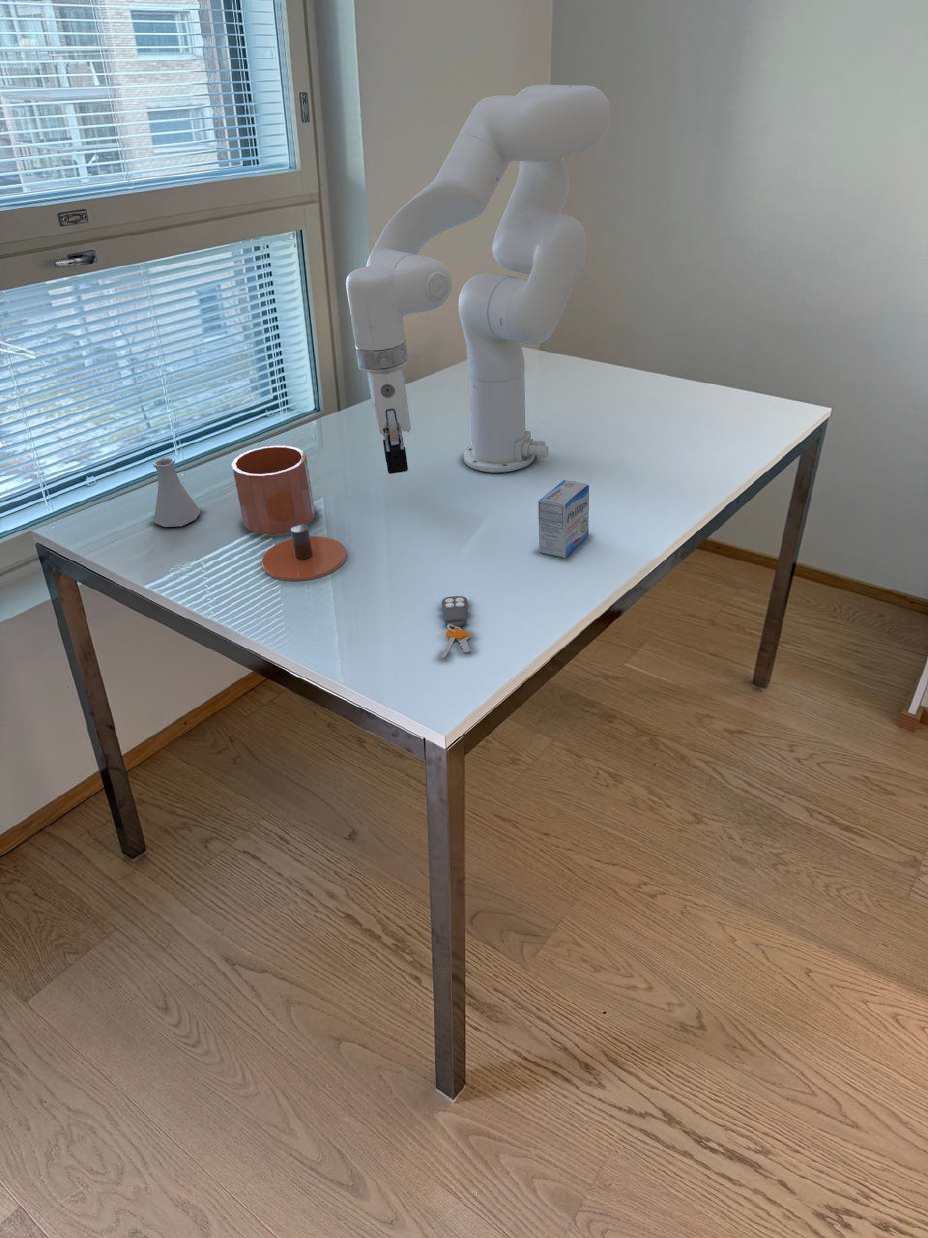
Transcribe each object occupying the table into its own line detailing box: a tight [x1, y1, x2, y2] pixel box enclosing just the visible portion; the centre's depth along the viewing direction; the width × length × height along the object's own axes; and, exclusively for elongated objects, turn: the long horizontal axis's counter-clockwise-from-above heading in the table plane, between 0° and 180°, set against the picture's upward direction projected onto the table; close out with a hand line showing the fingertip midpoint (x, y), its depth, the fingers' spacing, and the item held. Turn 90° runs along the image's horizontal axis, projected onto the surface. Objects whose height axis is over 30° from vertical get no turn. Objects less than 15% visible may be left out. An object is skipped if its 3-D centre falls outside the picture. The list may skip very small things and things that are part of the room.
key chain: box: [441, 595, 471, 659], centre depth 123 cm, size 13×4×2 cm, turn 2°
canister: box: [230, 445, 316, 535], centre depth 149 cm, size 11×12×10 cm
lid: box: [261, 524, 347, 582], centre depth 139 cm, size 12×12×6 cm
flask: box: [152, 457, 201, 528], centre depth 152 cm, size 7×7×10 cm
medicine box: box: [537, 479, 590, 559], centre depth 138 cm, size 8×4×9 cm, turn 148°
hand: (396, 465), depth 151 cm, fingers closed on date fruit, 3 cm apart
